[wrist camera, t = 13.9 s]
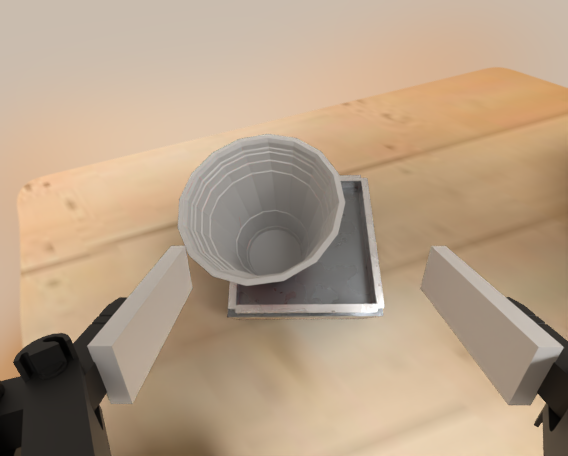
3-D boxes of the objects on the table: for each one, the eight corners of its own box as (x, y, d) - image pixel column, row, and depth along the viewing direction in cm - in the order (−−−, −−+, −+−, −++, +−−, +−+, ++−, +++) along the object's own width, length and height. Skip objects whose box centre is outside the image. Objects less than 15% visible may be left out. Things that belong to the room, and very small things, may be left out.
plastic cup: (230, 204, 30) (192, 126, 19) (327, 210, 29) (345, 132, 18) (212, 303, 26) (150, 276, 15) (323, 313, 25) (345, 292, 14)
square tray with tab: (349, 190, 38) (366, 154, 30) (363, 318, 32) (389, 315, 24) (245, 191, 38) (235, 155, 30) (239, 319, 32) (224, 316, 24)
